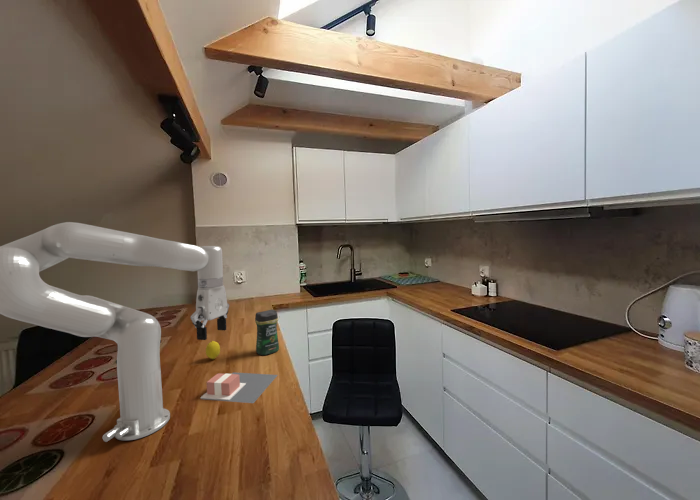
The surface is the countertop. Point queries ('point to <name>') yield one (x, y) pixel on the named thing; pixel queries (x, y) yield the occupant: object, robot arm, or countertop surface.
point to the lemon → (212, 350)
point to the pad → (222, 397)
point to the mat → (251, 387)
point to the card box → (223, 384)
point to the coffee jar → (266, 332)
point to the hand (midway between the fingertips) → (212, 334)
